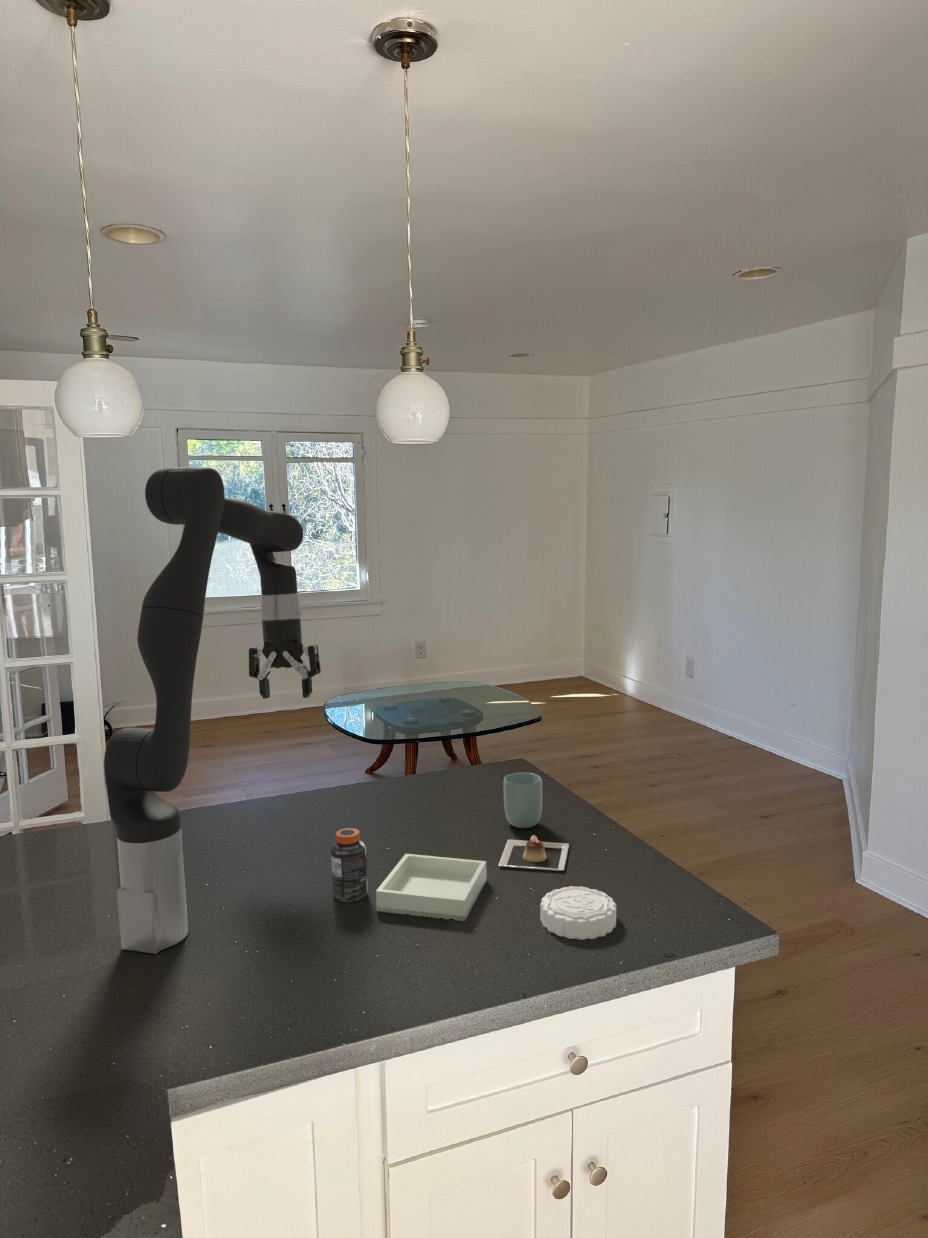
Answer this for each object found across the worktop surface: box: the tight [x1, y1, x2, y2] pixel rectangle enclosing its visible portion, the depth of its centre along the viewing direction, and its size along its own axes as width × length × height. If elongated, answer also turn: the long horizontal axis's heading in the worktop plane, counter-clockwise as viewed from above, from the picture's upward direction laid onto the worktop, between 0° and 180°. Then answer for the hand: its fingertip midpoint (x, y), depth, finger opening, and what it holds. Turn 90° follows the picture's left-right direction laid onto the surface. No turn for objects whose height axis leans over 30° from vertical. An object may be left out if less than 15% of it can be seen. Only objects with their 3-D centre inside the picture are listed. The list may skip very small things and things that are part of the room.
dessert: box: [498, 834, 570, 872], centre depth 156 cm, size 12×12×5 cm
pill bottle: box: [330, 827, 369, 903], centre depth 141 cm, size 6×6×11 cm
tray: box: [375, 853, 488, 922], centre depth 141 cm, size 15×15×4 cm
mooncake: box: [539, 885, 617, 941], centre depth 132 cm, size 12×12×4 cm
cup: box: [503, 771, 543, 829], centre depth 171 cm, size 8×8×10 cm
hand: (286, 697), depth 166 cm, fingers open, 8 cm apart
